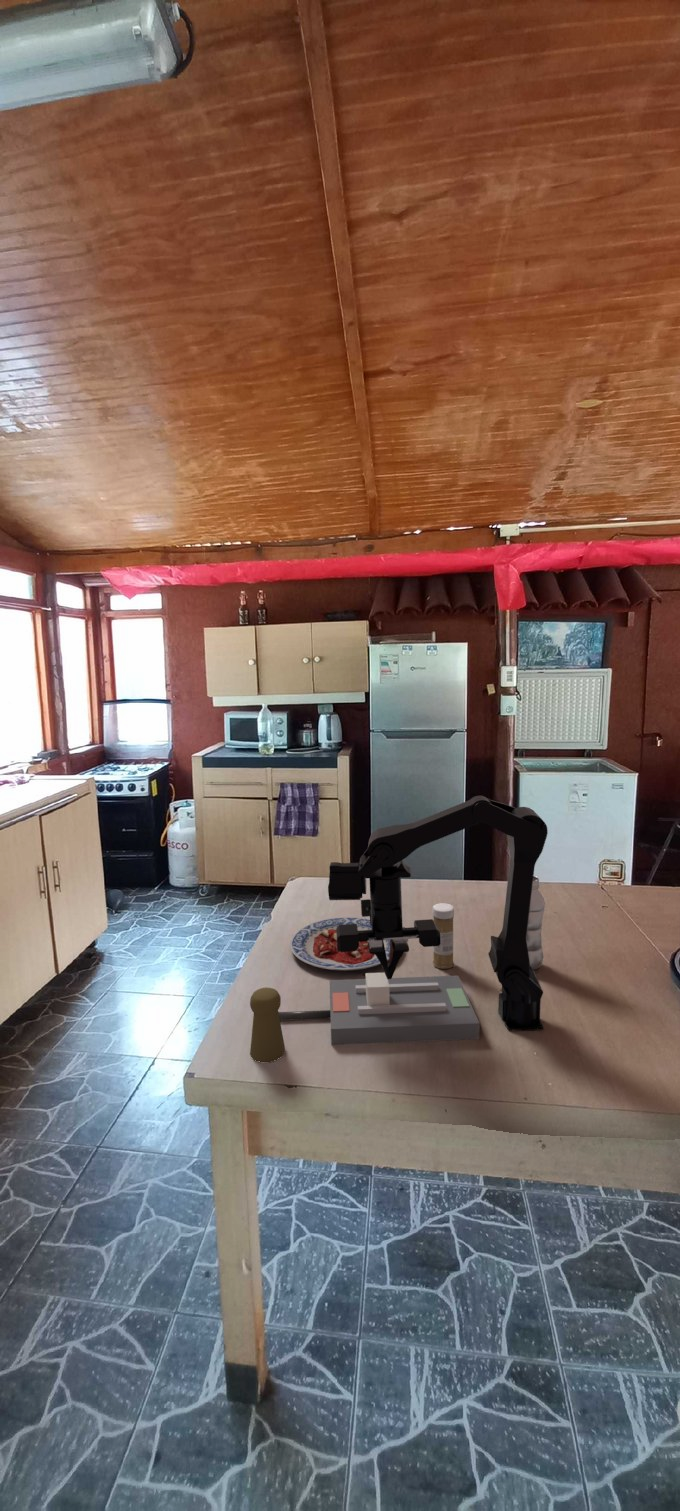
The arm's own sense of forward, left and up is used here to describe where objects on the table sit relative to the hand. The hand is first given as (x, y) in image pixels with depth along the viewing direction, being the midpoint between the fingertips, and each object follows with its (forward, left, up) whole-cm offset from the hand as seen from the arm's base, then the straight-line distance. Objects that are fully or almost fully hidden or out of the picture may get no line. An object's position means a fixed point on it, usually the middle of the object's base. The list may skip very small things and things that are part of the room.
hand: (389, 978), depth 110 cm
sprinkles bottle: (-14, -18, -8) cm, 24 cm away
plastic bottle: (-32, -16, -8) cm, 37 cm away
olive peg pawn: (+22, +9, -8) cm, 25 cm away
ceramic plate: (+7, -27, -8) cm, 29 cm away
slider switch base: (+3, 0, -8) cm, 8 cm away
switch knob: (+2, 0, -4) cm, 5 cm away
